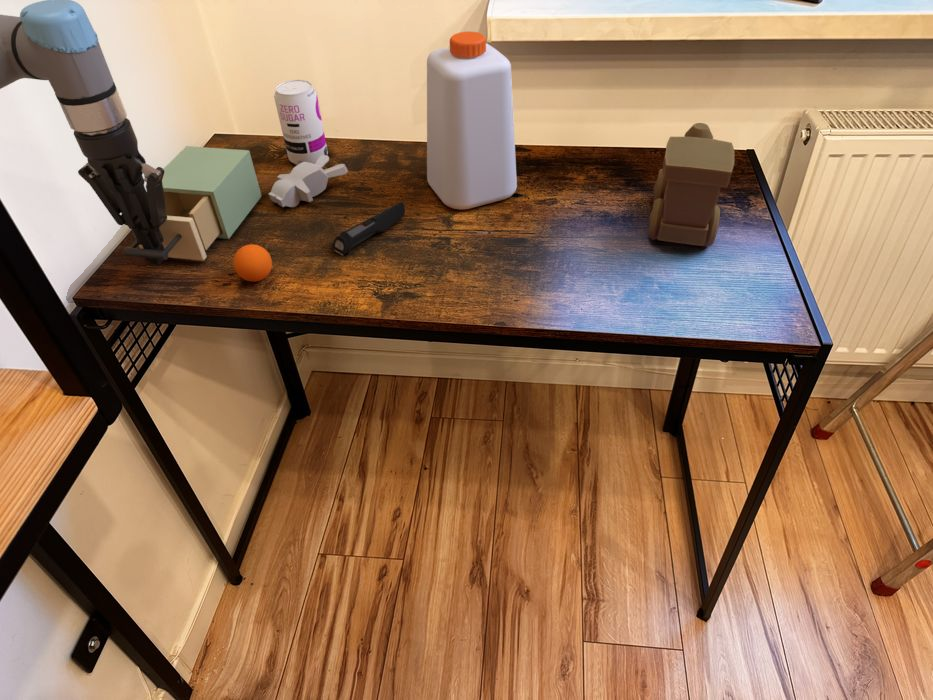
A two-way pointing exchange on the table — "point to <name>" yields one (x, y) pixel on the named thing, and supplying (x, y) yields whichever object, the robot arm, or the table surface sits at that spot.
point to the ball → (252, 263)
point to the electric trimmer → (368, 228)
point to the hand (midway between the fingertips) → (159, 259)
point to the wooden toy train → (691, 188)
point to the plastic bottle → (470, 123)
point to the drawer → (183, 228)
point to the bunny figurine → (304, 182)
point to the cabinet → (216, 182)
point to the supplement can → (300, 121)
